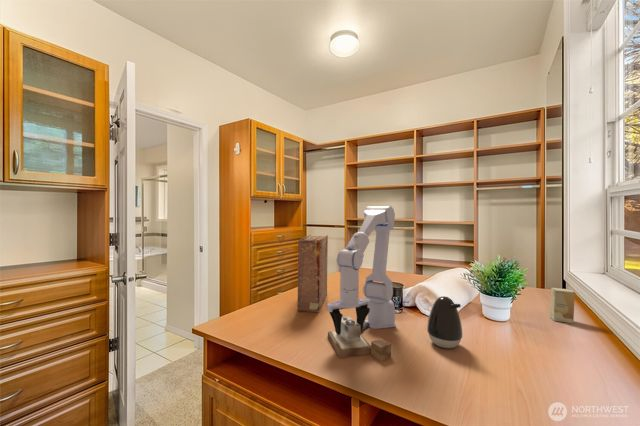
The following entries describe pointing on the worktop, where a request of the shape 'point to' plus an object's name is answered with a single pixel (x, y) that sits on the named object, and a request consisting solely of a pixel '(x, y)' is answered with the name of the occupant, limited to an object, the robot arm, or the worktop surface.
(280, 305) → the worktop surface
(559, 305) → the skincare box
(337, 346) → the stand
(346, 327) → the housing
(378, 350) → the walnut block
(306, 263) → the book
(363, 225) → the robot arm
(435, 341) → the pump dispenser
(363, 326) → the loose bolt
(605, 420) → the worktop surface
